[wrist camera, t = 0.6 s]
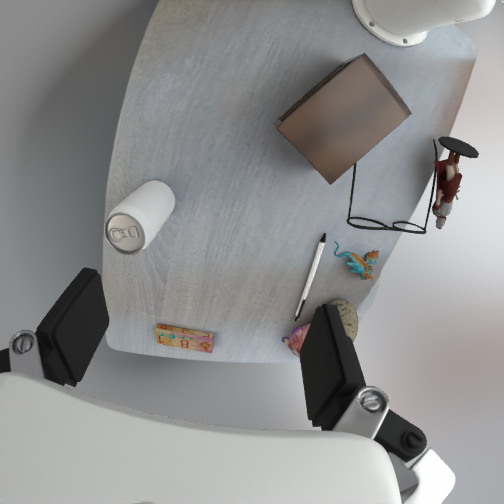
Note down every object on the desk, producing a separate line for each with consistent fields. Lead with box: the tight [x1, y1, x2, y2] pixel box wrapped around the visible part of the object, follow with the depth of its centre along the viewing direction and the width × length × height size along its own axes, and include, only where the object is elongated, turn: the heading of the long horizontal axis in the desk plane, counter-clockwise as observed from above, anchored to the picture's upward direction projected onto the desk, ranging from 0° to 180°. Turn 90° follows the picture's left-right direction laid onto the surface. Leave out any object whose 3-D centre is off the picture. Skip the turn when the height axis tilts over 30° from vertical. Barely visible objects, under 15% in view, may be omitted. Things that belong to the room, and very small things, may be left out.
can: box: [104, 180, 175, 255], centre depth 35 cm, size 6×6×12 cm
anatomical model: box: [282, 323, 311, 357], centre depth 52 cm, size 11×6×15 cm
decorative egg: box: [329, 299, 358, 342], centre depth 45 cm, size 6×6×10 cm
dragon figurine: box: [334, 241, 379, 281], centre depth 44 cm, size 6×7×8 cm
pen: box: [295, 232, 326, 321], centre depth 46 cm, size 1×19×1 cm, turn 170°
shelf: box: [273, 53, 412, 185], centre depth 30 cm, size 9×14×8 cm, turn 136°
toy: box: [155, 324, 214, 353], centre depth 55 cm, size 12×2×5 cm
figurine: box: [432, 137, 479, 229], centre depth 33 cm, size 7×7×15 cm
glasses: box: [347, 139, 437, 234], centre depth 35 cm, size 14×15×5 cm
